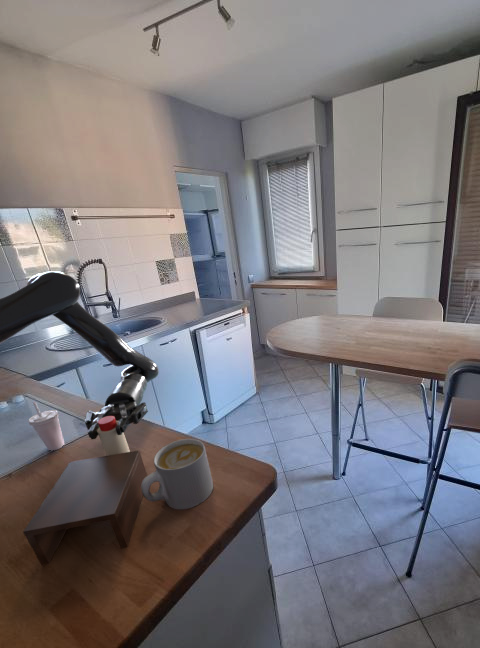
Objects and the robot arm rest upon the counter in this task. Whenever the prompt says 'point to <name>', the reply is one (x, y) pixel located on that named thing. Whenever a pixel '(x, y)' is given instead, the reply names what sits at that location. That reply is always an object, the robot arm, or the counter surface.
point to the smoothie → (48, 428)
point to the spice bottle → (111, 437)
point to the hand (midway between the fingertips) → (105, 433)
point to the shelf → (89, 501)
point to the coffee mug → (180, 475)
